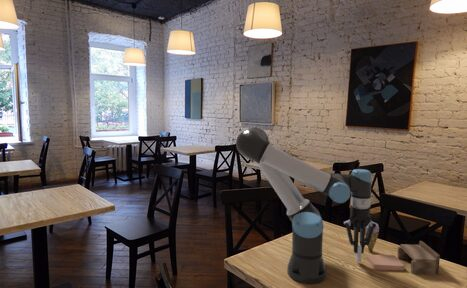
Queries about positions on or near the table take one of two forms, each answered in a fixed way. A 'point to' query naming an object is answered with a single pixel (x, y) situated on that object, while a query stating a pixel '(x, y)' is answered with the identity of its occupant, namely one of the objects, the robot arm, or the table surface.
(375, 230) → the ice cream cone
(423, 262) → the brown channel bracket
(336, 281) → the table surface
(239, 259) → the table surface
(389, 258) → the pinkish brown block
